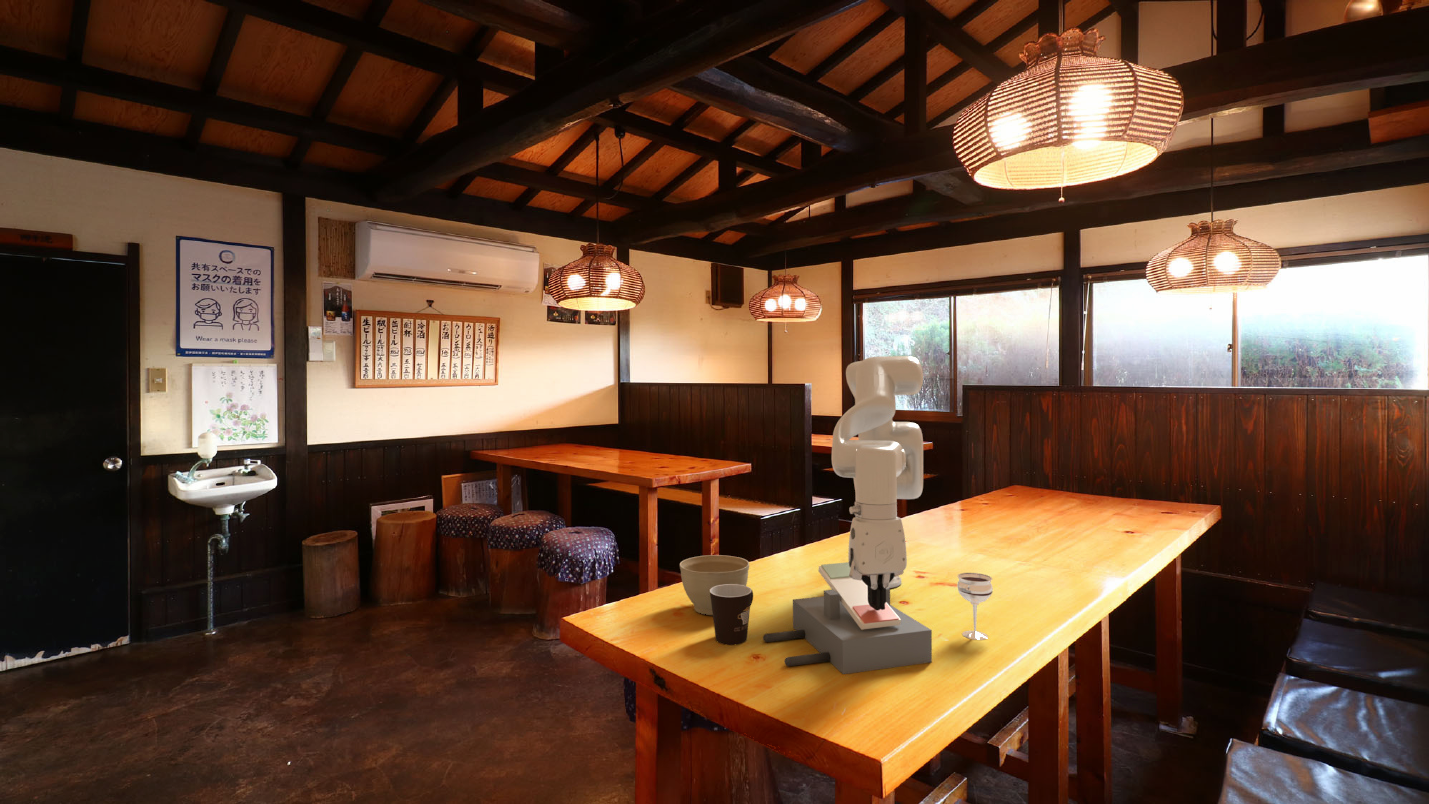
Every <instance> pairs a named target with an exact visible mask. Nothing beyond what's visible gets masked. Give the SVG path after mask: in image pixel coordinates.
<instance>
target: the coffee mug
mask: <svg viewBox="0 0 1429 804" xmlns="http://www.w3.org/2000/svg"><path fill="white" fill-rule="evenodd" d="M710 597H711V605H712V613H713V615H712V620H713V628H714V635H715V641H716V642H717V641H718V642H717V643H719V644H722V645H725V644H727V646H735V644H736V645H741V644H744V643H745V642H746V641H747V640H748V633H749V632H748V630H749V621H750V620H749V619H750V613H751V612H750V611H751V605H752V604H753V600H754V592H753V589H752V588H751V587H750V586H747V585H746V586H744V585H738V584H724V585H718V586H715V587H713V588H711V589H710Z"/></svg>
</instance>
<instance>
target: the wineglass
mask: <svg viewBox="0 0 1429 804" xmlns="http://www.w3.org/2000/svg"><path fill="white" fill-rule="evenodd" d="M957 578H958V581H957V583H956V584H957V591H958V593H959V595H960V596H961V597H962V598H963V599H964V600H965V601H967V602H969V603H970V604H971V605H972V611H973V612H972V613H973V614H972V615H973V630H966V631H962V633H961V634H962V636H963V637H965V638H967V639H969V640H970V639H971V640H977V641H983V640H987V639H989V635H987V634H986V633H984V632H981V631H978V630H977V615H978V614H977V611H978V606H979V604H980V603H983V602H986V601H987V600H988V599H990V597H991V596H992V594H993V584H992V583H991V582H992V580H993V578H992V576H990V575H988V574H983V573H978V572H962V573H958V574H957Z"/></svg>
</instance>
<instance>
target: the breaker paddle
mask: <svg viewBox="0 0 1429 804" xmlns="http://www.w3.org/2000/svg"><path fill="white" fill-rule="evenodd" d="M850 569H851V568H850V566H849V561H848V562H838V563H837V562H836V563H827V564H825V563H824V564H821V565H819V566H818V573H819V574H820V576H821V577H822V578H823V580H824V581H825V582H826V584H827V585H828V586H829V588H830V590H834V591H836V592H837V593H839V594H840V601H841V603H842V604H843V605H844V607H845V608H846V609H847V611H848V612H849V614H850V615H851V616H852V618H853V619H854V620H855V622H856V623H857V624H858V626H859V627H860V628H861V630H862V629H871V628H879V627H888V626H896V625H900V623H901V619H900V618H899V617H898V615H897V614H896V613H895V612H894V611H893V609H892V608H891V607H890V606H889V605H888V604H887V602H886V603H885V609H884V610H881V609H880V610H875V609H874V608H872V607H871V606H870V605H869V603H868V586H867V585H866V584H865V583H864V582H863V581H862V580H855V579H852V578H851V577H850V576H849V574H850Z"/></svg>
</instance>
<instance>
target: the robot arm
mask: <svg viewBox="0 0 1429 804" xmlns="http://www.w3.org/2000/svg"><path fill="white" fill-rule="evenodd" d="M845 377H846V383H847V386H848V387H849V390H850V392H851V394H852V395H853V397H854V402H855V403H854V405H853V406H852V407H851V408H849V409H848V410H847V411H846V412H845V413H844V414H843V415H842V416H841V417H840V418H839V419H838V421H837V423H836V424H835V427H834V429H833V432H832V443H831V465H832V469H833V471H834V473H835V474H836V475H837V476H839V477H842V478H849V479H850V478H851V479H853V484H854V490H855V491H854V492H855V501H854V505H853V506H850V507H849V510H848V511H849V514H850V515H854V516H855V517H853V518H852V520H851V524H850V530H849V540H848V552H847V553H848V556H847V557H848V562H849V566H850V568H851V569H850V574H849V576H850V577H851V578H852V579H855V580H862V581H863V582H864V583H865V584H866V585H867V586H868V603H869V605H870V606H871V607H872V608H874V609H875V610H880V609H881V610H884V609H885V603H886V588H889V589H892V588H897V587H899V586H901V585H902V578H901V577H900V576H901V575H904V571H905V570H906V568H907V563H908V562H907V561H908V559H907V558H908V557H907V545H906V537H905V536H906V535H905V529H904V525H903V522H902V518H901V517H899V516H898V512H897V511H898V506H897V505H898V502H897V500H915V499H919V497H921V495H922V493H923V489H924V439H923V433H922V432H923V431H922V428H920V426H919V424H917V423H915V422H913V421H912V422H910V421H894V420H893V418H894V416H895V414H896V409H897V408H896V406H897V405H896V396H914V395H917V394H919V392H920V391H921V389H922V387H923V382H924V372H923V367H922V364H921V362H920V361H919V359H918V358H917V357H915V356H913V355H912V356H910V355H892V356H891V355H890V356H888V355H887V356H871V357H867V358H865V359H863V360H860V361H854V362H852V363H849V364H848V365H847V367H846V369H845ZM857 435H858V436H857ZM856 436H857V437H858V439H852V438H853V437H856Z"/></svg>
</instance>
